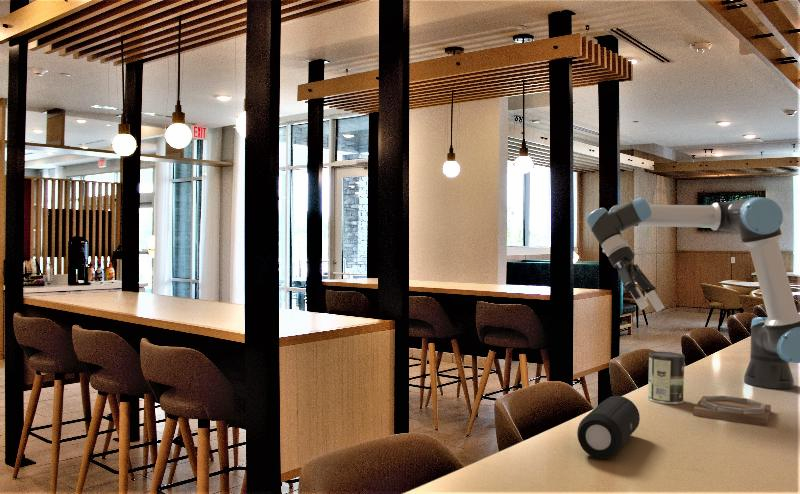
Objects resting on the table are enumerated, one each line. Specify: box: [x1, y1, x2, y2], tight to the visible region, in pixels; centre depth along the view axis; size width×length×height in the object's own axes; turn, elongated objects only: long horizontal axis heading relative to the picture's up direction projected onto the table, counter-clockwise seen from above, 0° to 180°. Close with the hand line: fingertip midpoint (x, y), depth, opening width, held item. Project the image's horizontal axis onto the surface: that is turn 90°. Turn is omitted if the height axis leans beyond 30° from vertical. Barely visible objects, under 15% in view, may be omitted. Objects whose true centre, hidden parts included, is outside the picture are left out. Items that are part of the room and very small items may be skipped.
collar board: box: [692, 394, 772, 427], centre depth 195 cm, size 18×18×3 cm
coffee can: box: [647, 351, 686, 405], centre depth 209 cm, size 10×10×14 cm
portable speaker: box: [576, 395, 641, 459], centre depth 162 cm, size 26×10×10 cm, turn 151°
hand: (653, 308), depth 213 cm, fingers open, 13 cm apart
